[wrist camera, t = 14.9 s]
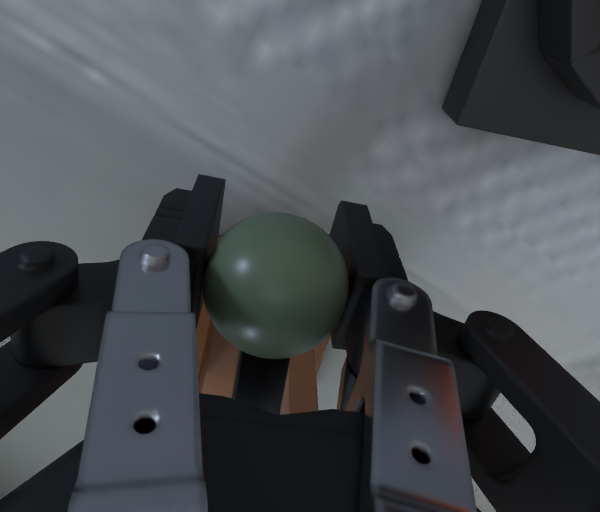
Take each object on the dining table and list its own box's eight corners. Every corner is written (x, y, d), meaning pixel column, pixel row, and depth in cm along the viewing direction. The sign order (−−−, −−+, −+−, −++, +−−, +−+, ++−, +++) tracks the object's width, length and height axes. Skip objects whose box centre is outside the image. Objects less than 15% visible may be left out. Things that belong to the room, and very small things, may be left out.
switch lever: (219, 194, 11) (206, 208, 8) (346, 217, 12) (380, 238, 9) (157, 601, 14) (129, 734, 10) (266, 607, 14) (270, 736, 11)
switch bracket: (174, 228, 18) (15, 634, 8) (347, 257, 19) (421, 653, 8) (163, 381, 23) (58, 756, 12) (301, 398, 24) (312, 760, 13)
